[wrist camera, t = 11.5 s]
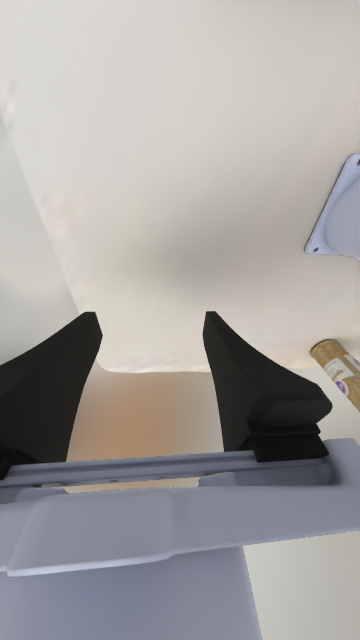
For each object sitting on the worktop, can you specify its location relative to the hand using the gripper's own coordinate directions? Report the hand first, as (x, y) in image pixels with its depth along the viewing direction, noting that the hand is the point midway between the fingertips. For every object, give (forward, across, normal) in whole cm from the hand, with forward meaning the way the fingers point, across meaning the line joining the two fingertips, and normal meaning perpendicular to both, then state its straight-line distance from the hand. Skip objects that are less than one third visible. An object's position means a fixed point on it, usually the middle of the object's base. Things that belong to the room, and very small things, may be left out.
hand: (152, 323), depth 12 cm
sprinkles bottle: (+10, -28, +14) cm, 33 cm away
